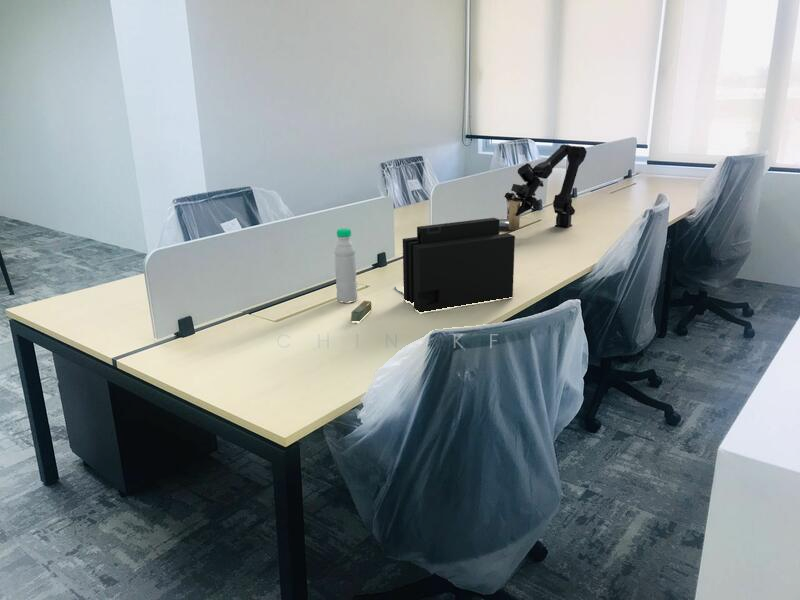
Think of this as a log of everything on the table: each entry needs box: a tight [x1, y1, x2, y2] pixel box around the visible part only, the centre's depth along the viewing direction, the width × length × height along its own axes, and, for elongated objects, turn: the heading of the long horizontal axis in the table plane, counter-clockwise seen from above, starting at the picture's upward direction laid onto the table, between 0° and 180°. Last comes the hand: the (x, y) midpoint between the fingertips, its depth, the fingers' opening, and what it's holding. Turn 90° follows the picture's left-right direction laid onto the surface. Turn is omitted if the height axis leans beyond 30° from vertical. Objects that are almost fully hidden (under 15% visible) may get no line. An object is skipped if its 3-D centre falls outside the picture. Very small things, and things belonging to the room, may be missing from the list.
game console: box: [402, 217, 516, 312], centre depth 231 cm, size 35×30×27 cm
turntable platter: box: [498, 218, 509, 227], centre depth 329 cm, size 13×13×1 cm
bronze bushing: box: [509, 200, 521, 231], centre depth 310 cm, size 5×5×13 cm
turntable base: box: [499, 227, 513, 231], centre depth 330 cm, size 10×10×2 cm
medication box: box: [350, 300, 372, 321], centre depth 213 cm, size 12×3×4 cm, turn 163°
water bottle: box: [333, 227, 358, 302], centre depth 226 cm, size 7×7×25 cm
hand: (512, 214), depth 310 cm, fingers closed on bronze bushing, 5 cm apart
